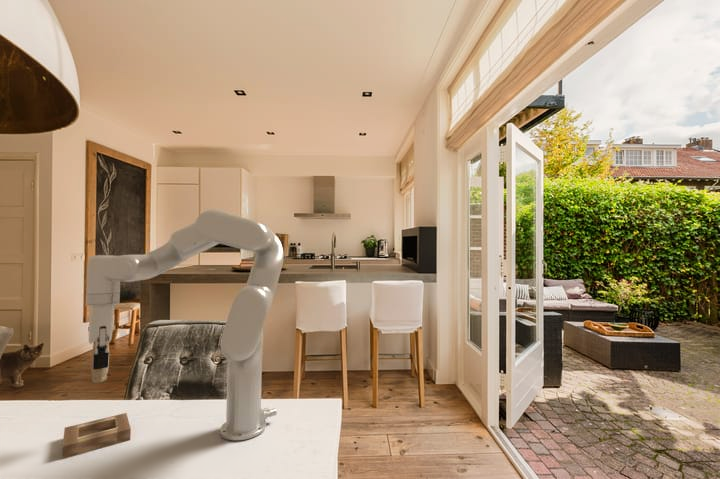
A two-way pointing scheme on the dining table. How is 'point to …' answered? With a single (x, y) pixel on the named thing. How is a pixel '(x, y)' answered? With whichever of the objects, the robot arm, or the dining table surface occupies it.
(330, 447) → the dining table surface
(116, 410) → the dining table surface
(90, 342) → the robot arm
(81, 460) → the dining table surface
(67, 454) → the wooden frame
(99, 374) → the handle
